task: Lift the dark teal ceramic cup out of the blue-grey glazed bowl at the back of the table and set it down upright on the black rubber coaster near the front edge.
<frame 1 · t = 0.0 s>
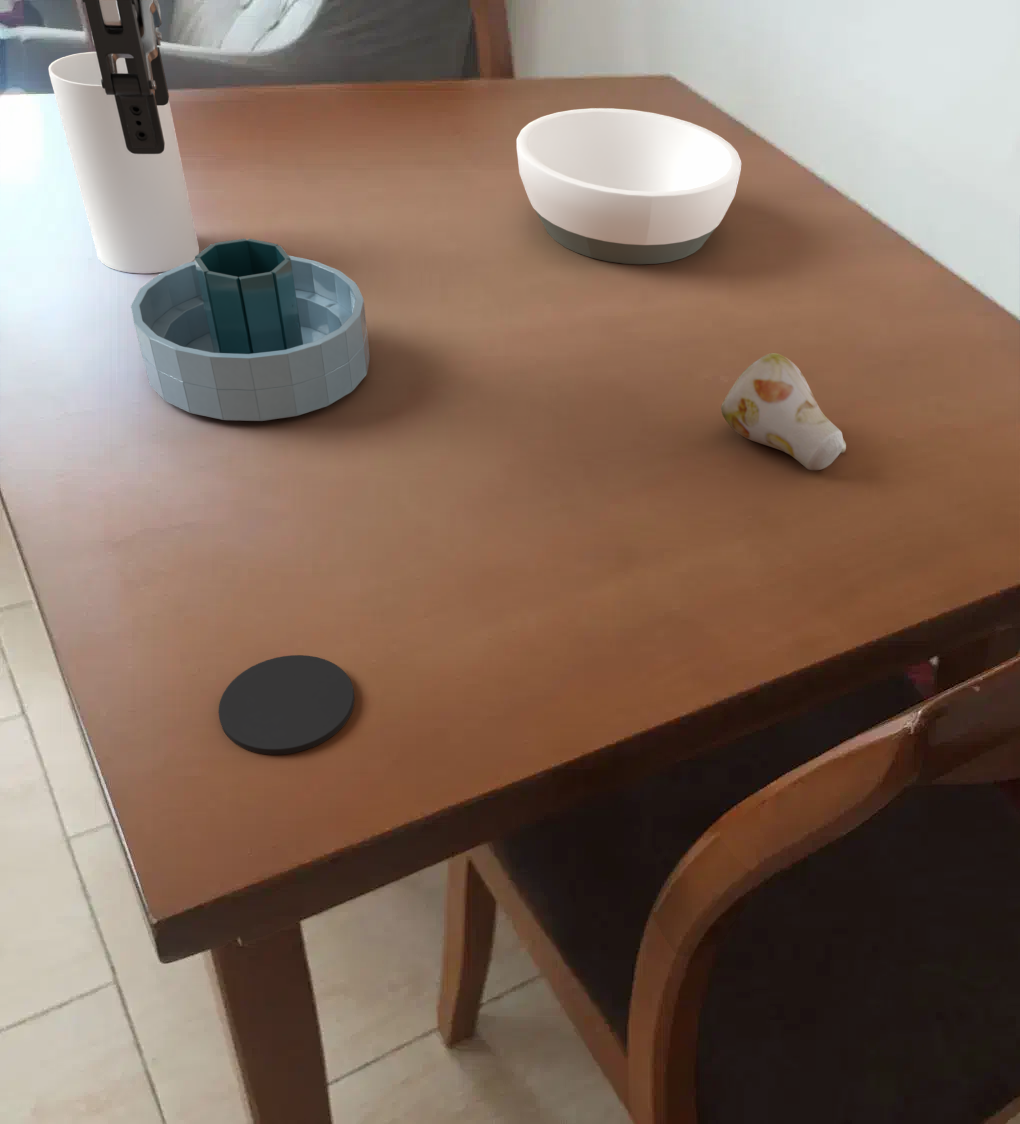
hand: (150, 126, 76), 19 cm above the table, tool pointing down, fingers open, 8 cm apart
bowl: (625, 229, 117), on the table
teal cup: (261, 363, 89), point 1 cm above the table, touching glazed bowl
white pear shape: (785, 448, 91), on the table
coaster: (288, 705, 64), on the table
glazed bowl: (262, 369, 89), on the table
cup: (149, 254, 101), on the table
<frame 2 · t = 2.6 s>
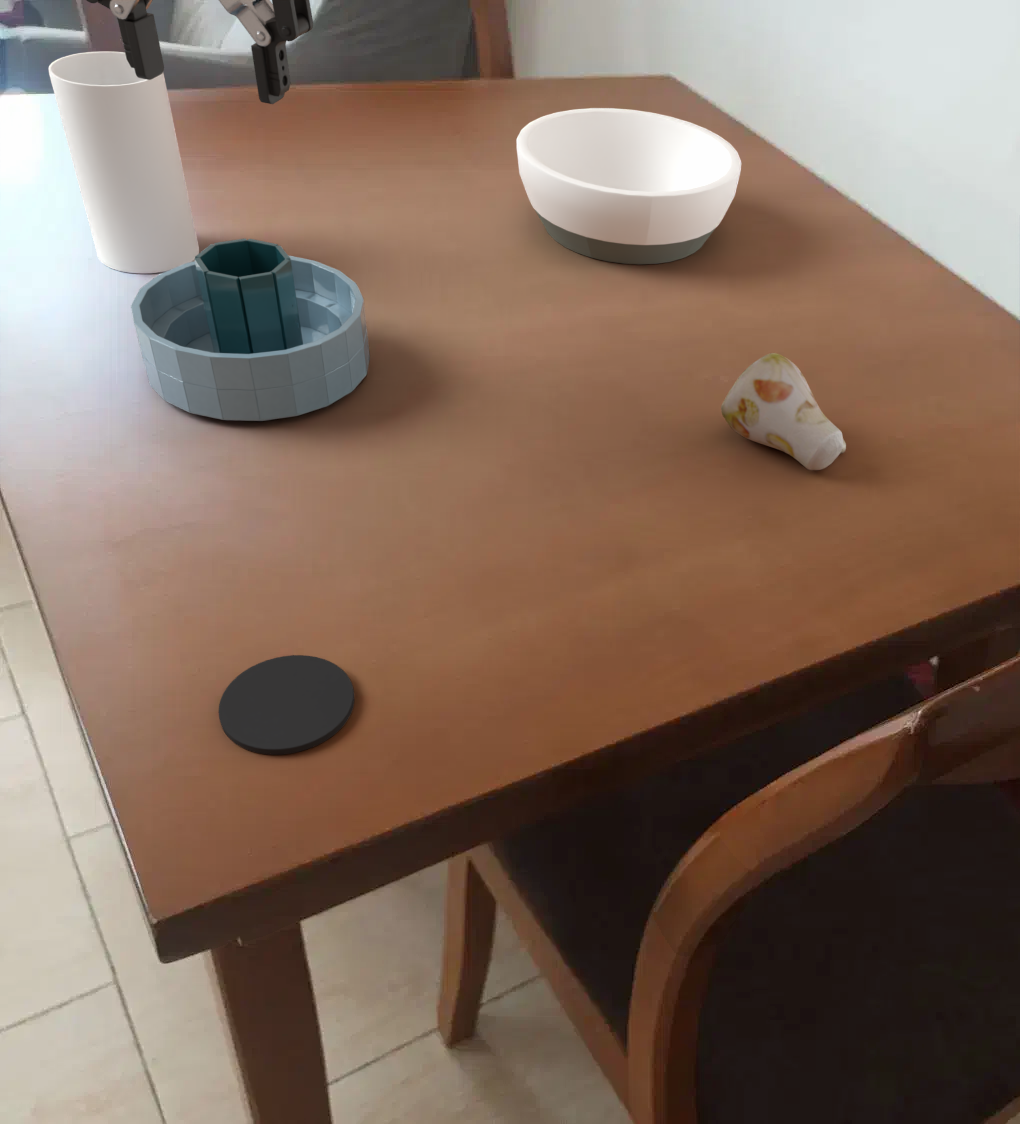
hand: (212, 88, 75), 22 cm above the table, tool pointing down, fingers open, 8 cm apart
nothing on the table moved.
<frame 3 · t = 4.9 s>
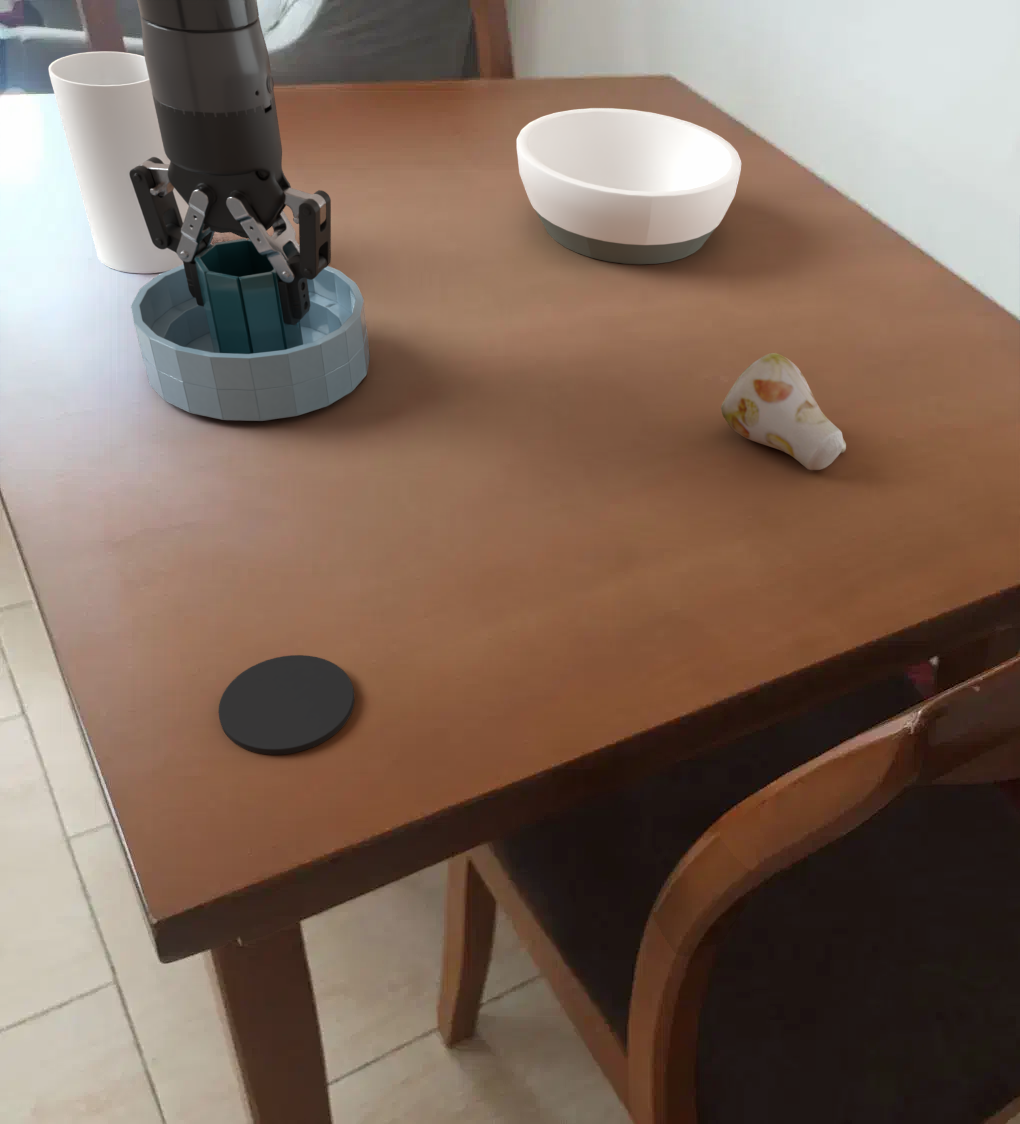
hand: (252, 310, 86), 5 cm above the table, tool pointing down, fingers closed on teal cup, 6 cm apart
teal cup: (261, 363, 89), point 1 cm above the table, touching glazed bowl, gripper
everything else where it was.
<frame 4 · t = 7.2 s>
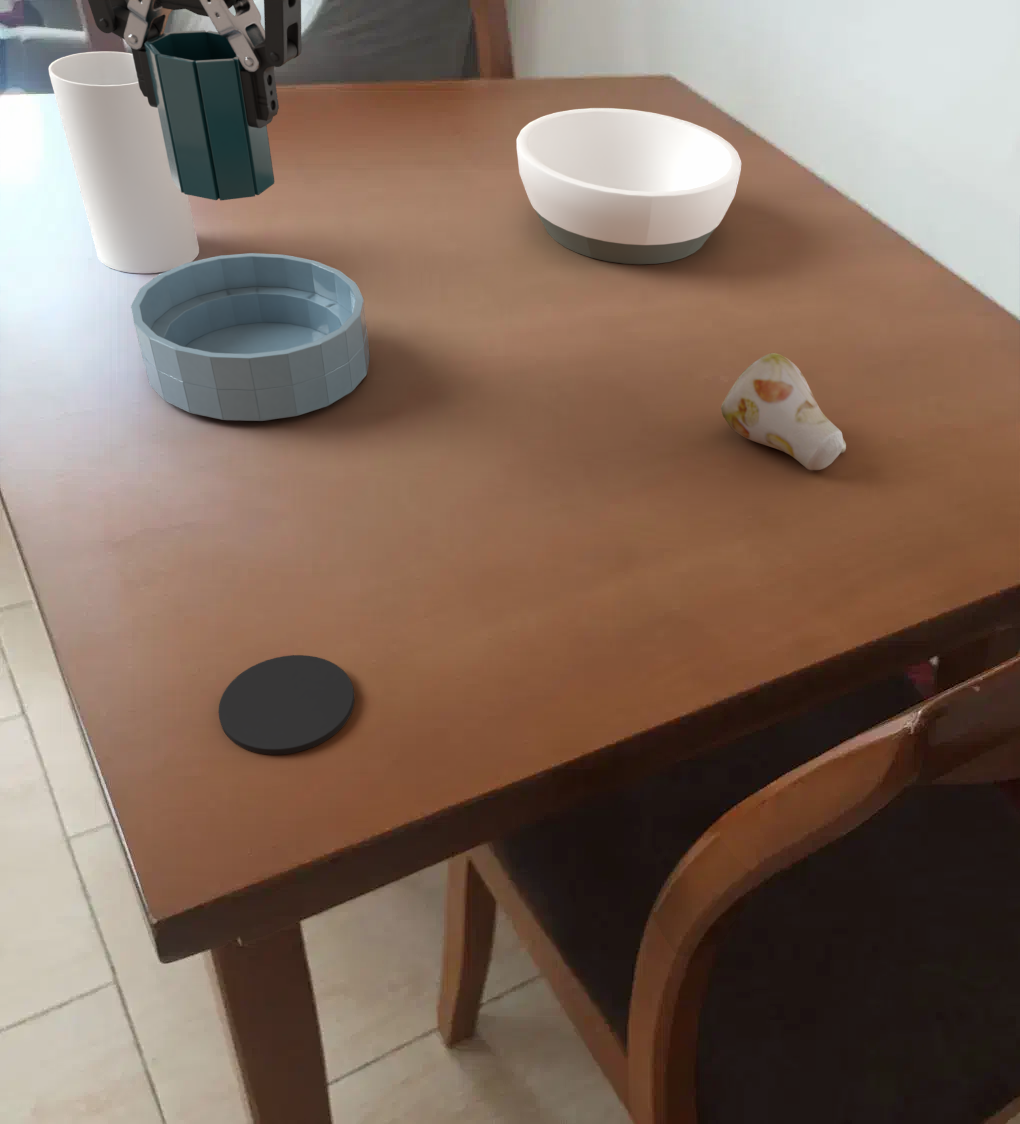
hand: (212, 113, 75), 20 cm above the table, tool pointing down, fingers closed on teal cup, 6 cm apart
teal cup: (224, 181, 78), point 16 cm above the table, touching gripper
everything else where it was.
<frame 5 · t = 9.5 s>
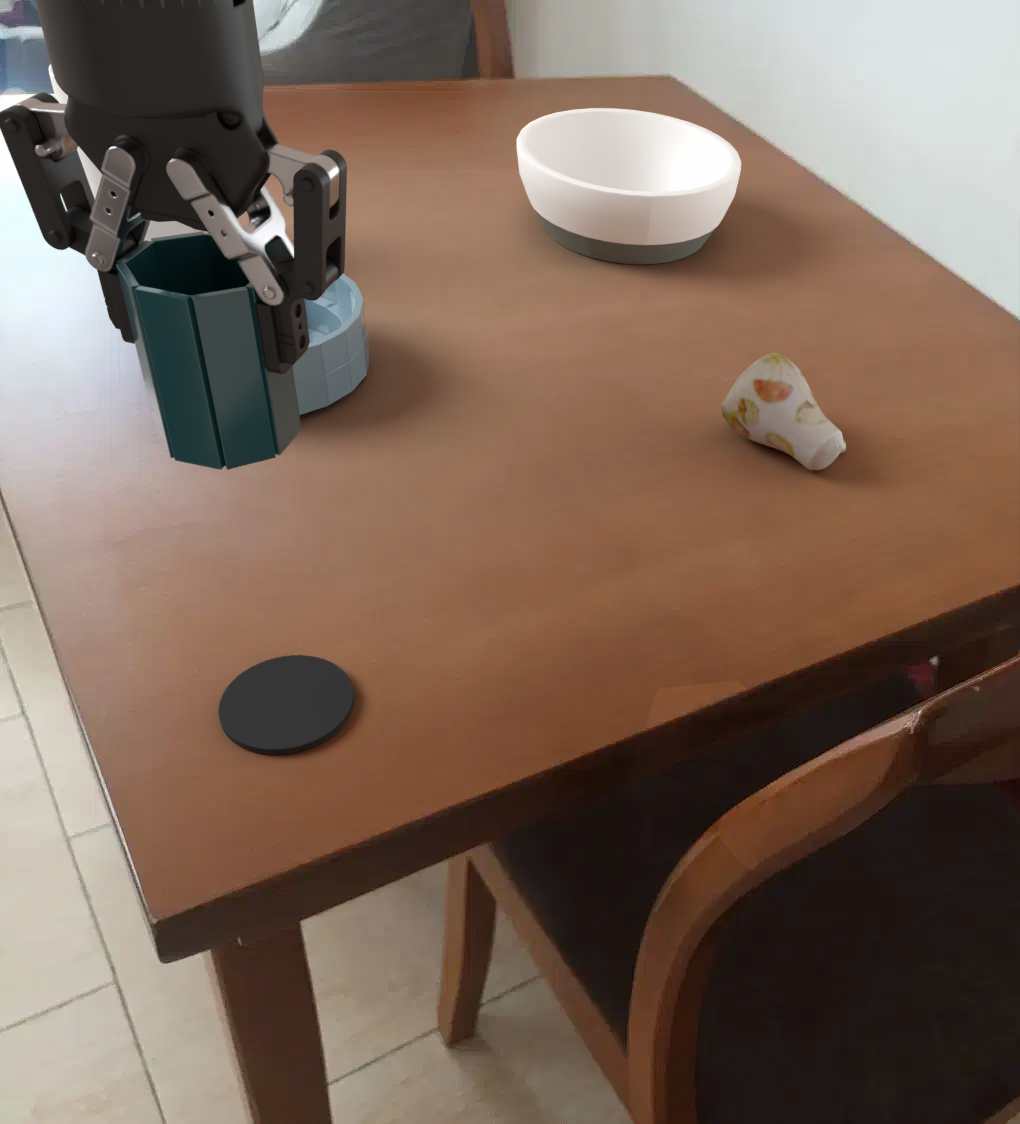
hand: (214, 349, 53), 21 cm above the table, tool pointing down, fingers closed on teal cup, 6 cm apart
teal cup: (230, 430, 56), point 17 cm above the table, touching gripper
everything else where it was.
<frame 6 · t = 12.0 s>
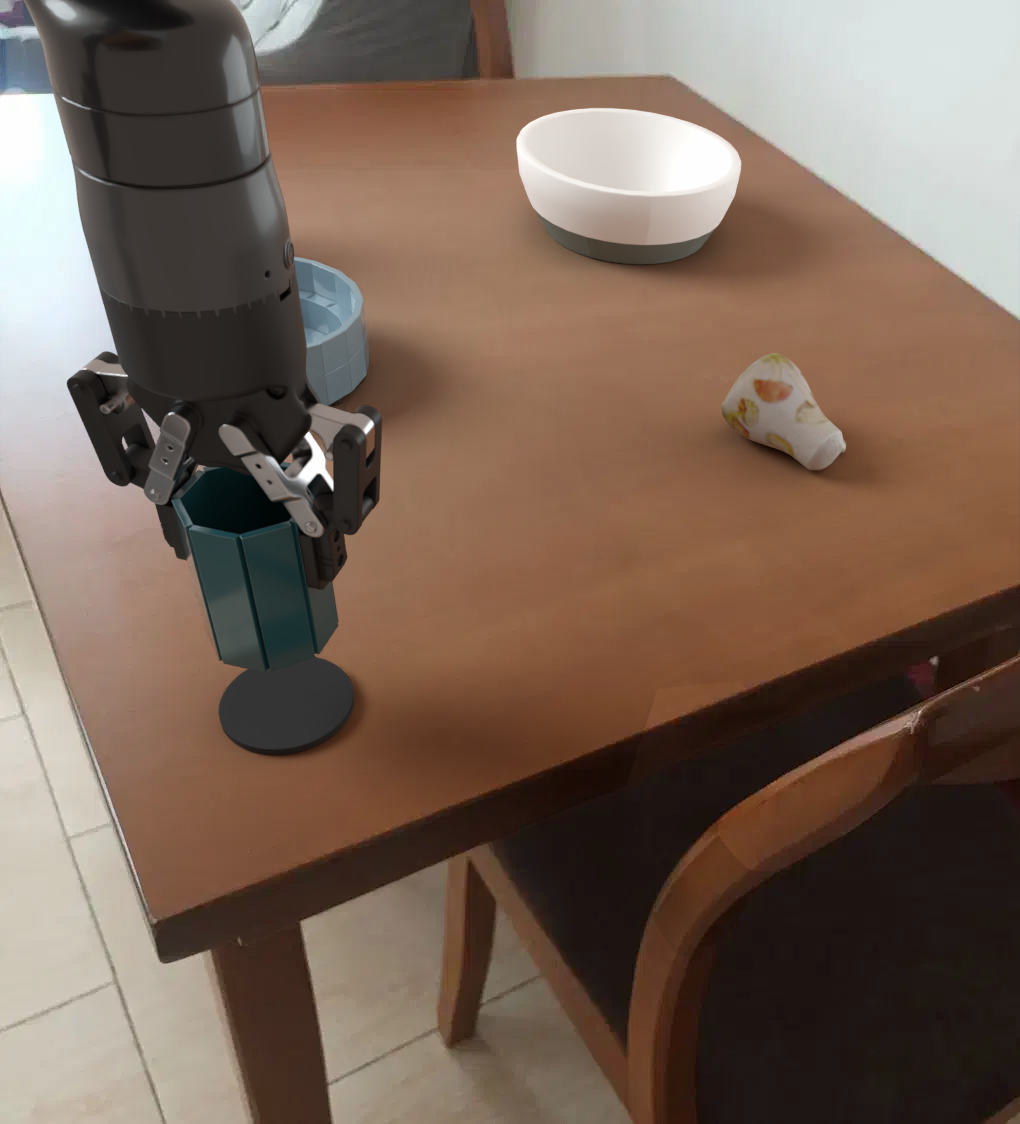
hand: (260, 563, 57), 11 cm above the table, tool pointing down, fingers closed on teal cup, 6 cm apart
teal cup: (273, 628, 60), point 6 cm above the table, touching gripper
everything else where it was.
when the fingers open (5 cm above the table, at t = 14.0 s): teal cup stays where it is, resting on coaster.
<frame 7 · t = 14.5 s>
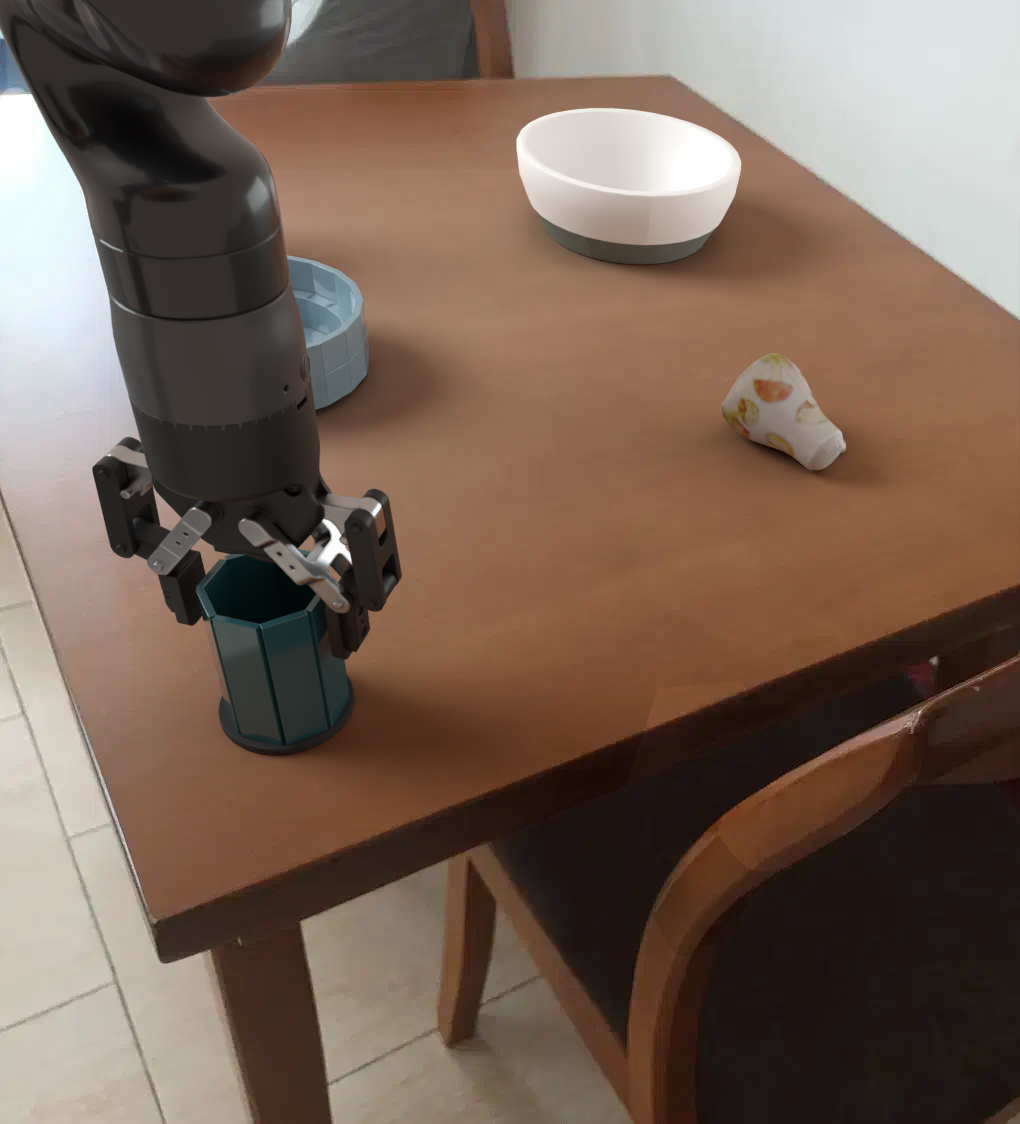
hand: (272, 631, 60), 6 cm above the table, tool pointing down, fingers open, 8 cm apart
teal cup: (288, 700, 64), resting on coaster
everything else where it was.
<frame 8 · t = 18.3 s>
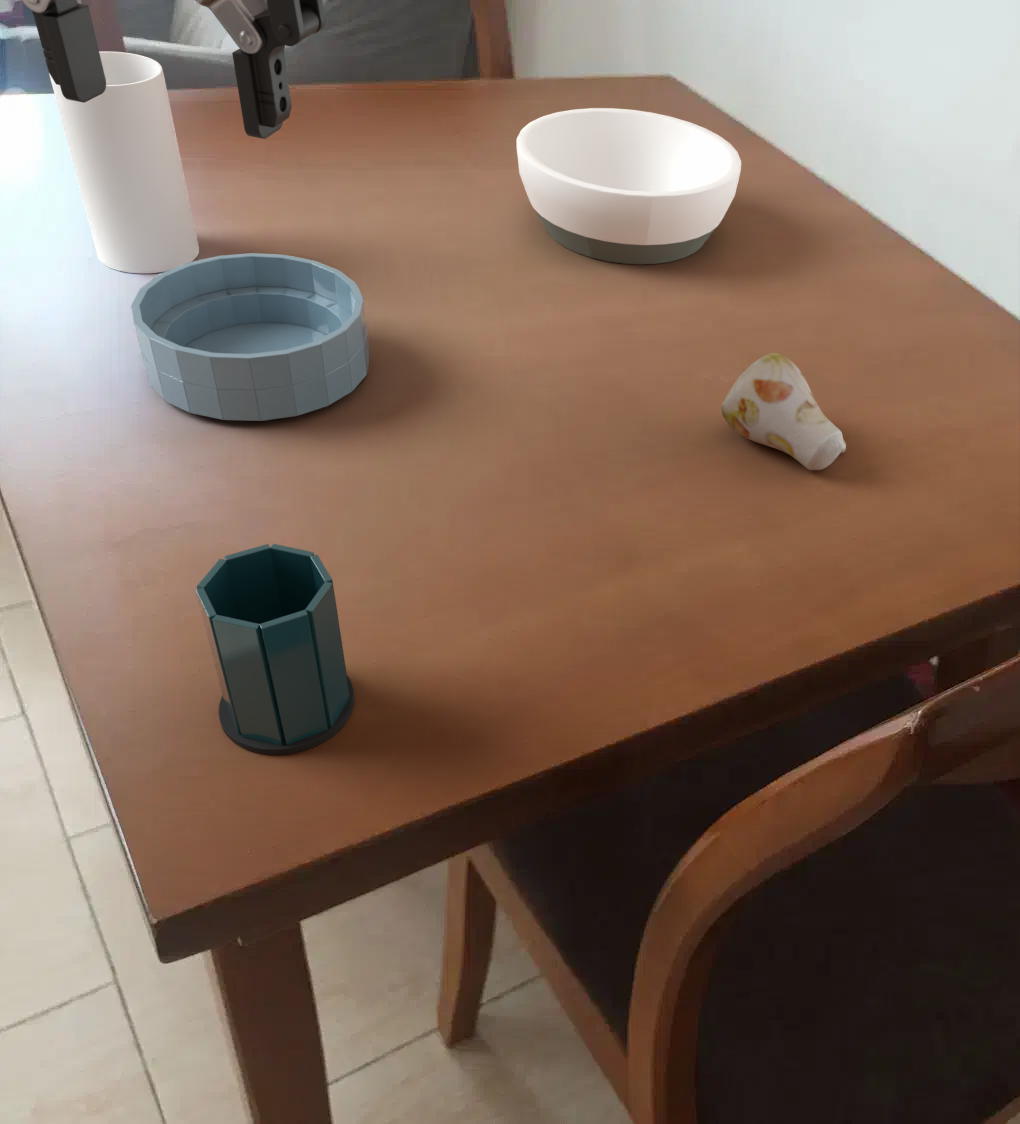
hand: (176, 114, 51), 30 cm above the table, tool pointing down, fingers open, 8 cm apart
nothing on the table moved.
at the end: teal cup 0.1 cm off-centre on the coaster, point 0.5 cm above the coaster's base; teal cup tilted 0°; teal cup touching coaster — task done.
